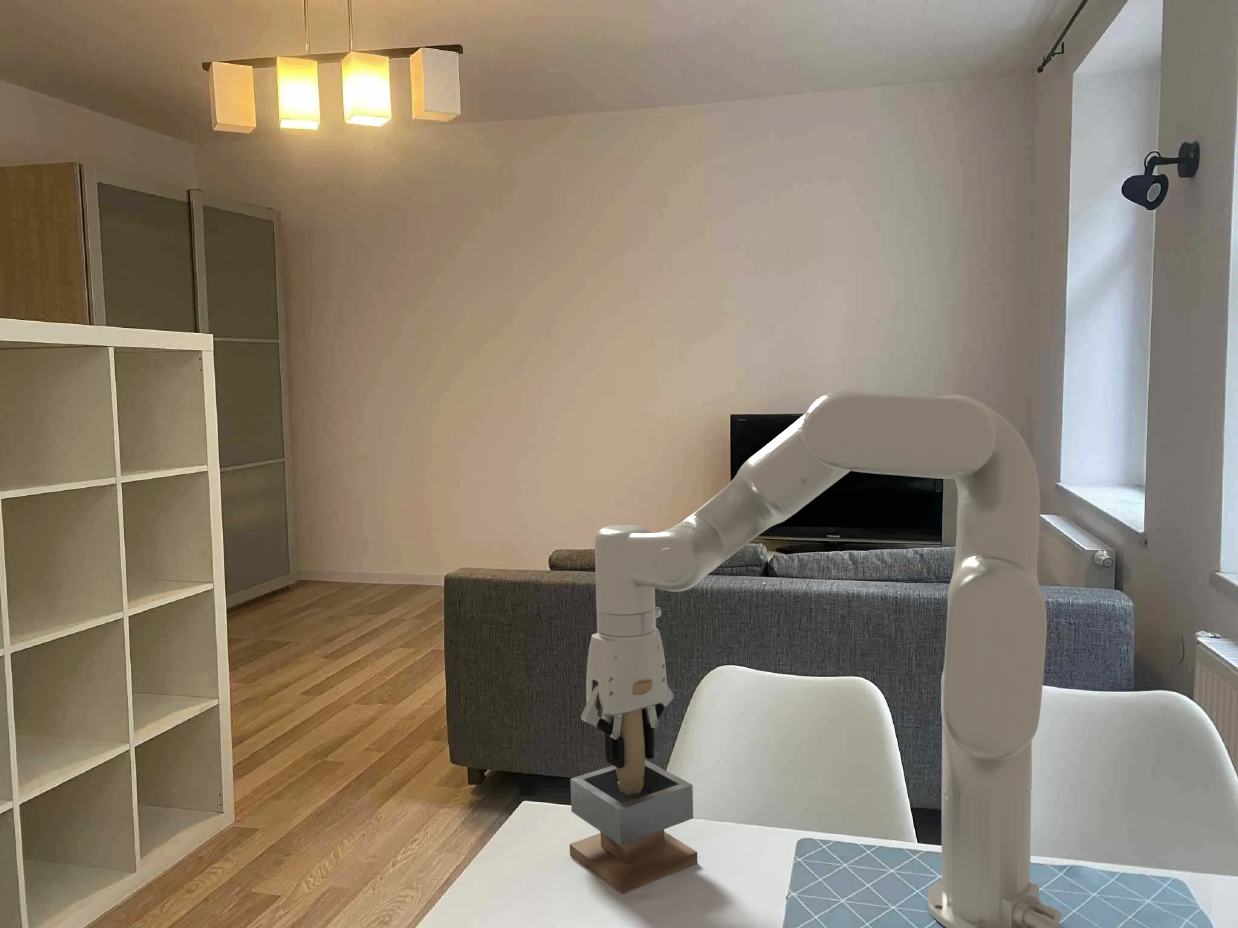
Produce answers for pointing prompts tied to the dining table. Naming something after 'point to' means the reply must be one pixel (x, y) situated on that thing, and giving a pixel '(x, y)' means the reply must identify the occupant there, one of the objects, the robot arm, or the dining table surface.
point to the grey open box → (631, 803)
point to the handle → (633, 746)
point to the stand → (633, 859)
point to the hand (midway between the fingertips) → (630, 758)
